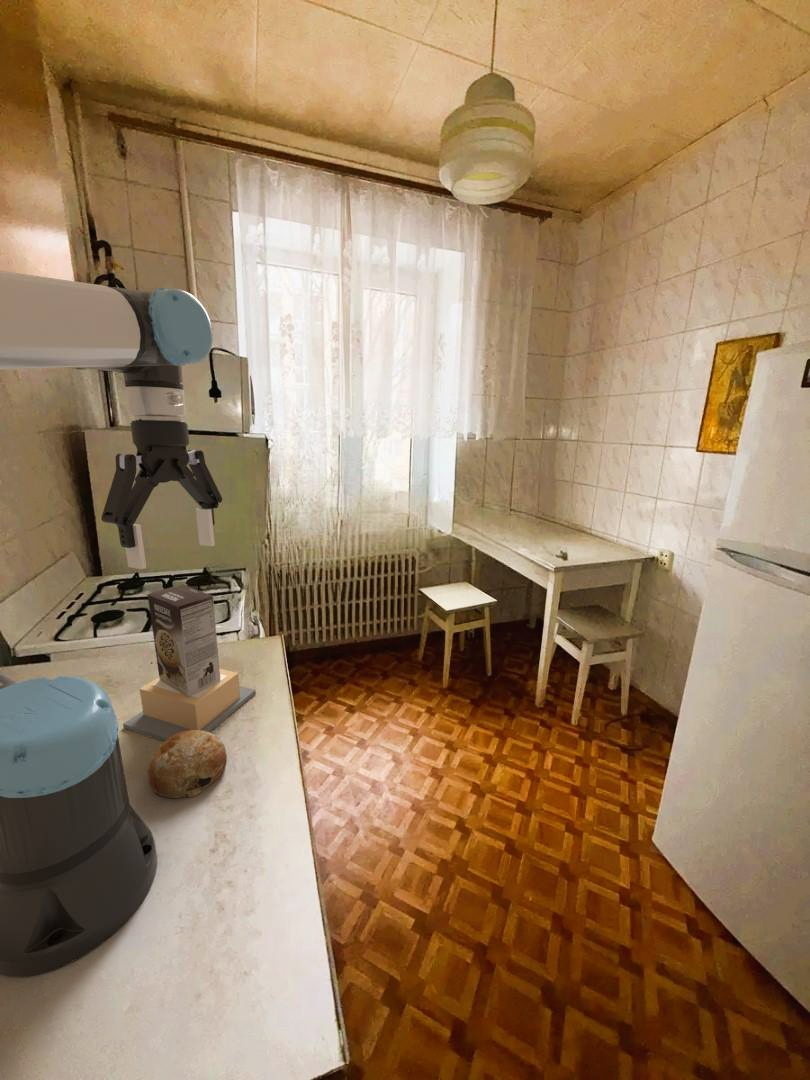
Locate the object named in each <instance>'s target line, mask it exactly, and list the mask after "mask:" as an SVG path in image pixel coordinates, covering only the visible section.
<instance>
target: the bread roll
mask: <svg viewBox="0 0 810 1080" xmlns="http://www.w3.org/2000/svg"><path fill="white" fill-rule="evenodd" d="M227 761H228V760H227V750H226V747H225V745H224V743H223V741H222V740H221V738H220V737H218V736H217V735H216V734H213V733H212V732H206V731H200V730H188V731H183V732H179V733H177V734H175V735H173V736H171V737H170V738H168V739H167V740H166V741H165V742H164V741H163V742H161V743H160V744H159V747H158V749H157V750H156V751H155V752H154V755H153V756H152V758H151V759H150V763H149V765H148V769H147V775H148V778H149V781H148V784H149V786H150V788H151V790H152V791H153V792H154V794H157V795H159V796H161V797H165V798H166V797H167V798H172V799H181V798H184V797H189V798H193V797H196V796H198V794H200V793H201V792H203V791H204V790H205V789H206V788H208V787H210V785H212V784H213V782H214V781H216V780H217V779H218V778H219V777H221V775H222V774H223V773H224V771H225V768H226V765H227Z"/></svg>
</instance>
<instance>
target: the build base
mask: <svg viewBox="0 0 810 1080" xmlns="http://www.w3.org/2000/svg"><path fill="white" fill-rule="evenodd" d="M219 671H220V681H219V682H217V683H215V684H213V685H211V686H209V687H207V688H205V689H203V690H201V691H199V692H197V693H195V694H193V695H191V696H189V697H187V696H186V695H184V694H182V693H181V692H179V691H177V690H176V689H174V688H173V687H171V686H169V685H168V684H166V683H164V682H163V681H161V680H160V678H159V676H158V677H157V678H155V679H153V680H151V681H150V682H148V683H147V684H145V685H143V686H141V687H140V688H139V695H140V700H141V706H142V707H141V708H142V711H140V712H139V713H137V714H135V715H134V716H133V717H131V718H130V719H128V720H126V721H125V722H123V723H122V725H123V729H126V730H128V731H131V732H134V733H138V734H141V735H143V736H147V737H150V738H151V739H152V738H153V739H155V740H158V741H162V742H163V743H164V742H165V741H166V740H167V739H168V738H170V737H171V736H173V735H175V734H177V733H179V732H183V731H188V730H200V731H206V732H210V733H212V731H213V730H214V729H215V728H217V727H218V726H219V725H220V724H222V723H223V722H224V721H225V720H226V719H227V718H228V717H230V716H231V715H232V714H233V713H235V712H236V711H237V710H238V709H239V708H241V707H242V706H243V705H244V704H245V703H246V702H248V701H249V700H250V699H251V698H253V697H254V696H255V695H256V694H257V692H256V689H254V688H251V687H247V686H242V685H240V678H239V672H236V671H235V672H234V671H232V670H231V671H230V670H227V669H223V668H219Z"/></svg>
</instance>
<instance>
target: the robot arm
mask: <svg viewBox="0 0 810 1080" xmlns="http://www.w3.org/2000/svg"><path fill="white" fill-rule="evenodd" d="M212 329H213V328H212V323H211V319H210V318H209V315H208V313H207V310H206V309H205V307H204V306H203V305H202V303H201V302H200V301H199V300H198V299H197V298H196V297H195V296H194V295H192V294H191V293H189V292H187V291H185V290H182V289H178V288H173V289H172V288H171V289H169V288H167V289H166V288H162V287H160V288H156V289H155V290H138V289H137V290H136V289H130V288H123V287H114V286H112V287H111V286H106V285H104V284H94V283H89V282H88V283H87V282H81V281H73V280H68V279H61V278H53V277H47V276H39V275H31V274H25V273H18V272H11V271H4V270H0V370H28V369H29V370H32V369H35V370H36V369H63V368H64V369H67V368H68V369H69V368H79V369H89V370H97V371H106V372H115V373H120V374H123V381H124V387H125V394H126V402H127V403H126V404H127V411H128V414H129V416H131V417H133V419H134V420H131V422H130V424H129V425H130V432H131V439H132V444H133V445H134V446H135V447H136V454H131V453H117V454H116V455H115V472H114V476H113V478H112V483H111V486H110V489H109V490H108V491H109V492H108V495H107V497H106V498H107V499H106V500H105V501H106V502H105V505H104V508H103V512H102V514H101V521H102V522H103V523H108V524H114V525H116V526H117V530H118V538H119V543H120V546H121V547H122V548H125V554H126V561H127V567H128V568H131V569H137V570H138V569H139V570H144V569H146V568H147V564H146V562H147V561H146V555H145V549H144V540H143V534H142V526H141V524H137V523H136V521H137V519H138V518H139V516H140V514H141V512H142V510H143V509H144V507H145V505H146V503H147V501H148V500H149V497H151V493H152V492H153V490H154V489H155V487H157V486H159V484H161V483H165V484H166V483H168V482H171V481H172V482H178V484H180V486H181V487H182V488H183V489H184V491H186V492H187V493H188V495H190V497H191V498H192V499H193V500H194V501H195V503H197V504H198V506H199V507H196V508H195V514H196V516H195V517H196V524H197V525H196V526H197V535H198V544H199V545H200V546H205V547H215V546H216V545H215V544H216V543H215V535H214V526H215V513H214V509H218V508H219V506H220V505H219V503H222V502H223V497H222V495H221V493H220V491H219V488H218V486H217V485H216V482H215V480H214V479H213V476H212V474H211V472H210V470H209V468H208V466H207V464H206V459H205V453H204V452H203V450H198V449H196V450H195V449H188V450H187V446H188V445H189V444H190V436H189V429H188V426H189V425H188V423H187V421H183V418H186V417H187V410H186V400H185V398H186V397H185V391H184V383H183V380H184V379H183V370H182V368H183V367H182V366H185V365H190V364H192V365H193V364H198V363H200V362H202V361H203V360H205V359H206V358H207V357H208V356H209V354H210V353H211V351H212V350H211V349H212V347H213V342H214V341H213V340H214V339H213V338H214V334H213V332H212ZM188 466H189V467H188ZM139 468H140V469H139ZM137 469H139V471H138V474H137ZM120 744H121V743H120V738H119V721H118V719H117V715H116V713H115V710H114V708H113V706H112V702H111V699H110V697H109V695H108V693H107V691H106V690H105V689H104V688H103V687H102V686H100V685H99V684H97V683H96V682H94V681H92V680H89V679H86V678H83V677H78V676H73V675H72V676H71V675H59V676H56V677H55V678H52V679H50V678H49V677H48V676H42V677H38V678H30V679H28V680H23V681H20V682H19V681H16V680H14V679H12V678H10V677H9V676H7V674H5V673H3V672H2V671H0V974H1V975H4V976H8V977H20V978H22V977H31V976H32V977H33V976H36V975H42V974H45V973H47V972H51V971H54V970H57V969H59V968H62V967H64V966H66V965H69V964H70V963H73V962H74V961H76V960H78V959H80V958H82V957H83V956H86V955H87V954H89V952H91V951H93V950H95V949H96V948H97V947H99V946H100V945H101V944H103V943H104V942H105V941H107V940H108V939H109V938H110V937H112V935H114V934H115V933H116V932H117V931H118V930H119V929H120V928H122V926H123V925H124V924H125V923H126V922H127V921H128V920H129V919H130V918H131V917H132V916H133V914H134V913H135V912H136V911H137V910H138V908H139V907H140V906H141V904H142V903H143V901H144V900H145V898H146V896H147V894H148V893H149V891H150V889H151V887H152V884H153V882H154V879H155V876H156V873H157V868H158V854H157V846H156V842H155V838H154V835H153V832H152V831H151V829H150V828H149V826H148V825H147V824H146V823H145V821H144V820H143V819H142V818H141V816H140V815H139V814H138V812H137V811H136V810H135V809H134V808H133V806H132V805H131V804H130V799H129V794H128V788H127V782H126V776H125V775H126V773H125V769H124V764H123V758H122V751H121V745H120Z"/></svg>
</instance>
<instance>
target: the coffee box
mask: <svg viewBox="0 0 810 1080" xmlns="http://www.w3.org/2000/svg"><path fill="white" fill-rule="evenodd" d="M147 601H148V606H149V614H150V621H151V628H152V629H151V630H152V635H153V636H152V637H153V642H154V643H153V644H154V649H155V650H154V651H155V657H156V665H157V670H158V677H159V678H160V680H161V681H163V682H164V683H166V684H168V685H169V686H171V687H173V688H174V689H176V690H177V691H179V692H181V693H182V694H184V695H186V696H187V697H189V696H191V695H193V694H195V693H197V692H199V691H201V690H203V689H205V688H207V687H209V686H211V685H213V684H215V683H217V682H219V681H220V671H219V669H220V662H219V649H218V640H217V639H218V637H217V626H216V617H215V605H214V604H215V603H214V596H213V595H212V594H209V593H206V592H204V591H201V590H199V589H196V588H193V587H190V586H188V585H185V584H180V585H177V586H174V587H167V588H164V589H161V590H156V591H153V592H151V593H148V594H147Z"/></svg>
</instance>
